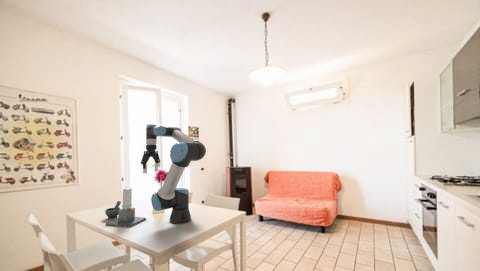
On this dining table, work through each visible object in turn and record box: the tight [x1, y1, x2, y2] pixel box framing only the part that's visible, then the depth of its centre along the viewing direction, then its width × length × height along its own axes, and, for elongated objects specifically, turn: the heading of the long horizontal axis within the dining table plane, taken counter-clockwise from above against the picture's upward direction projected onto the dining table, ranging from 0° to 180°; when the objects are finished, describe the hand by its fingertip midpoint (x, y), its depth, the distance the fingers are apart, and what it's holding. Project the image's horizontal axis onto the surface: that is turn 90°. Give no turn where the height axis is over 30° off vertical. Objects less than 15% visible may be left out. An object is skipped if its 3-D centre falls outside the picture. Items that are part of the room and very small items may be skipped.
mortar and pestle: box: [104, 200, 122, 221], centre depth 163 cm, size 11×9×12 cm
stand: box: [105, 207, 147, 228], centre depth 152 cm, size 20×16×10 cm
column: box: [121, 187, 133, 210], centre depth 153 cm, size 5×4×17 cm
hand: (150, 172), depth 162 cm, fingers open, 13 cm apart
